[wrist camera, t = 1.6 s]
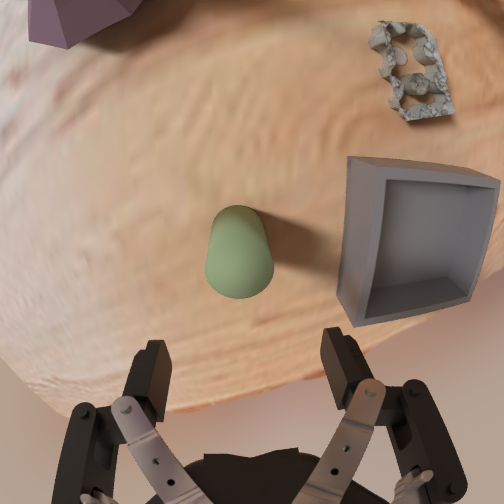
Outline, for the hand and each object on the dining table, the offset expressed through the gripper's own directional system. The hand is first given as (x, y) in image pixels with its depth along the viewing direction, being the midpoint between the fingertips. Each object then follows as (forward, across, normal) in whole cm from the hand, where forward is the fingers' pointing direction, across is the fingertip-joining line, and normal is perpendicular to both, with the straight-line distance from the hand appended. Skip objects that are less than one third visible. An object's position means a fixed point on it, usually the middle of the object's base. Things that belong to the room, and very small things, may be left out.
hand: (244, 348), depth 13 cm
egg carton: (+16, -18, -17) cm, 30 cm away
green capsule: (+16, 0, 0) cm, 16 cm away
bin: (+16, -20, +1) cm, 25 cm away
